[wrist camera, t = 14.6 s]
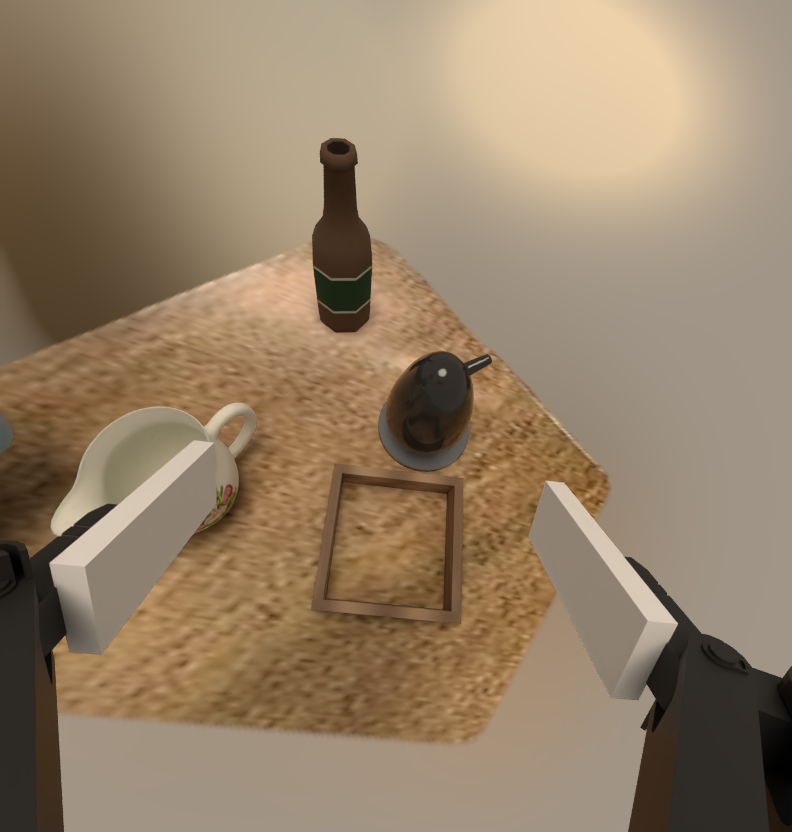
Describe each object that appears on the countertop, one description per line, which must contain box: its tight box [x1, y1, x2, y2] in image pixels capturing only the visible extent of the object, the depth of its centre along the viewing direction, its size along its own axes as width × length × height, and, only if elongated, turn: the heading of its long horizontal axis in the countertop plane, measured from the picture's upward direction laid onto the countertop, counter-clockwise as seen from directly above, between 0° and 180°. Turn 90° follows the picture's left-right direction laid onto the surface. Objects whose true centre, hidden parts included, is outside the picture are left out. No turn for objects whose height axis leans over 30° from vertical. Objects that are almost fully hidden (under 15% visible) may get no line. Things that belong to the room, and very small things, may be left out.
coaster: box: [379, 403, 469, 471], centre depth 51 cm, size 12×12×1 cm
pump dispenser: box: [385, 351, 492, 454], centre depth 44 cm, size 10×10×15 cm
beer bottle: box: [312, 138, 372, 332], centre depth 47 cm, size 8×8×24 cm
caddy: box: [311, 464, 463, 624], centre depth 43 cm, size 15×15×4 cm
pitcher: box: [50, 403, 257, 536], centre depth 39 cm, size 11×18×14 cm, turn 141°
